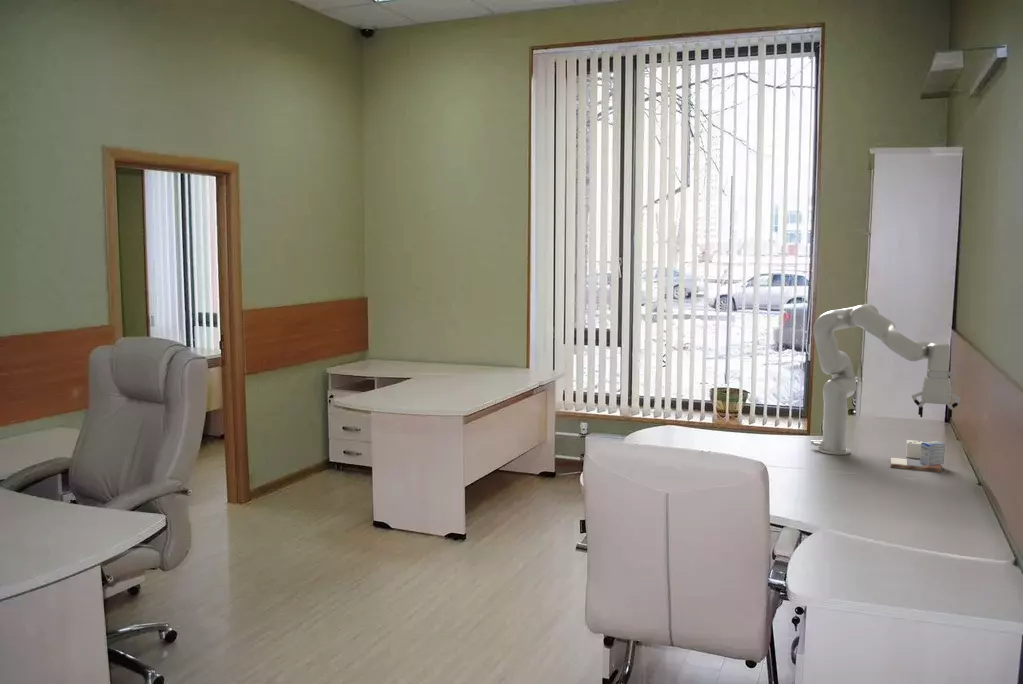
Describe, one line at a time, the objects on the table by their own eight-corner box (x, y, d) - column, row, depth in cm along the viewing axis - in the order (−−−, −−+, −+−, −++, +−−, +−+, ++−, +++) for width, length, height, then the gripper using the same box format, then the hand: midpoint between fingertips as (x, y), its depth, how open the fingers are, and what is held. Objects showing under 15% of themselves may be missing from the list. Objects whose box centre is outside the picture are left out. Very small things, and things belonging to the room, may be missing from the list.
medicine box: (934, 461, 343) (936, 440, 342) (944, 464, 339) (945, 443, 338) (919, 463, 340) (920, 442, 339) (928, 466, 336) (929, 444, 335)
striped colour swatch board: (890, 467, 340) (890, 464, 339) (890, 460, 351) (890, 456, 350) (941, 472, 332) (941, 468, 332) (939, 464, 343) (939, 461, 343)
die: (906, 457, 355) (907, 442, 355) (906, 453, 361) (906, 439, 360) (922, 458, 353) (923, 444, 352) (921, 455, 359) (922, 441, 358)
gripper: (961, 374, 335) (958, 418, 337) (912, 371, 342) (910, 414, 344) (963, 377, 328) (960, 421, 330) (913, 374, 335) (910, 417, 337)
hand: (934, 417), depth 337 cm, fingers open, 9 cm apart
